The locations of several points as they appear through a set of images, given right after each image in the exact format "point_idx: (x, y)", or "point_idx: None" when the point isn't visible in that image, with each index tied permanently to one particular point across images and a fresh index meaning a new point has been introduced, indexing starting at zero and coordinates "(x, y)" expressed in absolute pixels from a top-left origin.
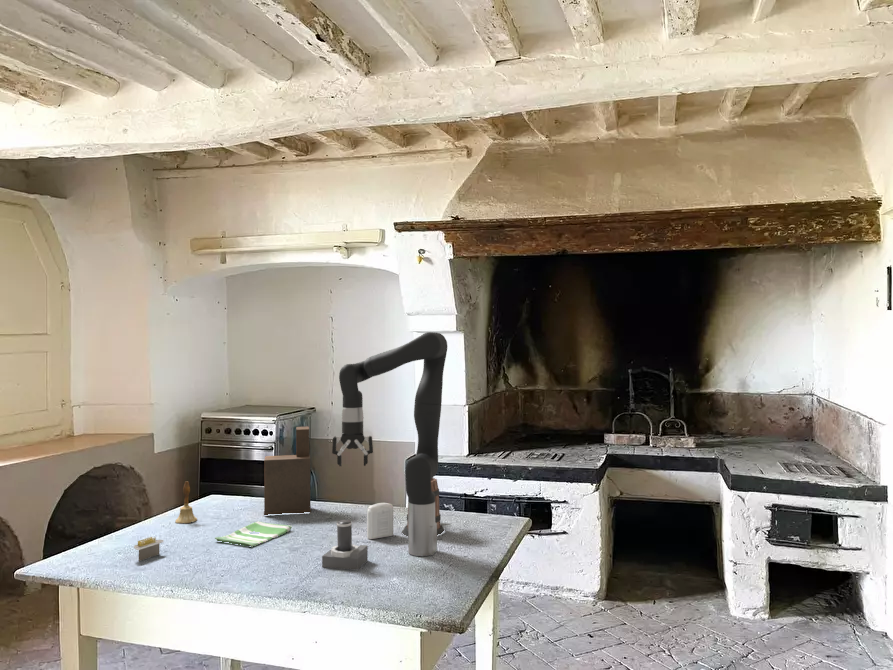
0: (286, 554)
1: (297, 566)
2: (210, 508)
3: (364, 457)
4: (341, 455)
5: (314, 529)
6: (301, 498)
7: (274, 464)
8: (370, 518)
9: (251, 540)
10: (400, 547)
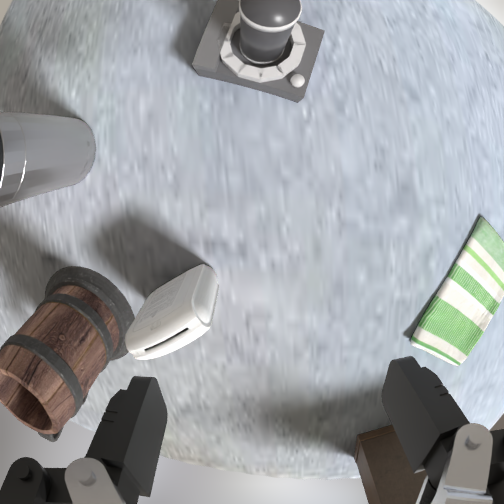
0: (418, 155)
1: (378, 59)
2: (482, 420)
3: (119, 440)
4: (420, 462)
5: (359, 351)
6: (383, 453)
7: None
8: (198, 292)
9: (480, 262)
10: (117, 191)
